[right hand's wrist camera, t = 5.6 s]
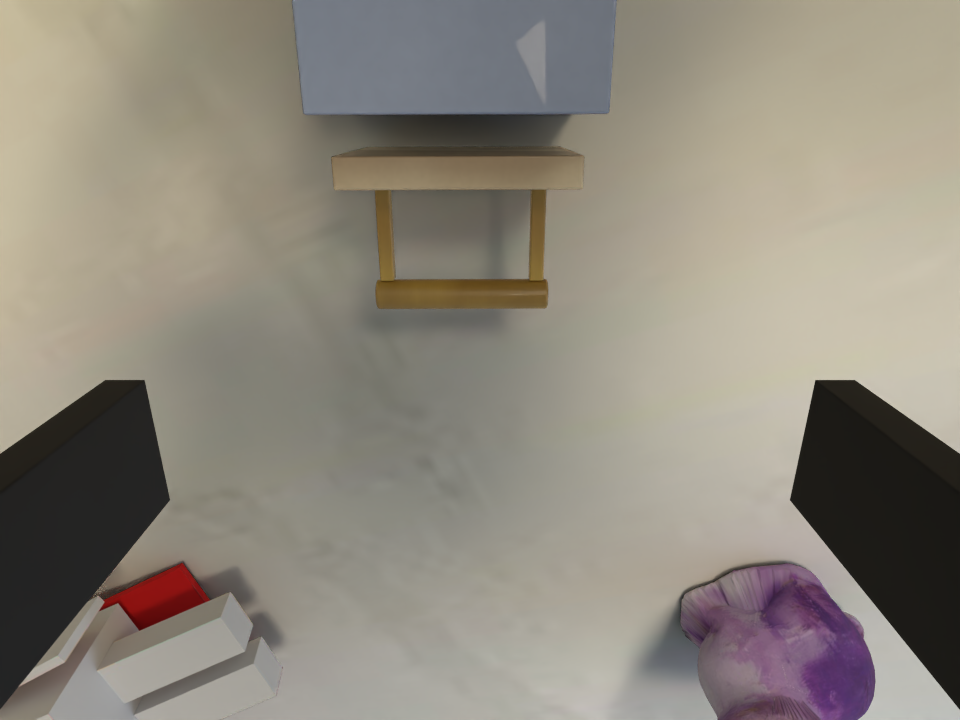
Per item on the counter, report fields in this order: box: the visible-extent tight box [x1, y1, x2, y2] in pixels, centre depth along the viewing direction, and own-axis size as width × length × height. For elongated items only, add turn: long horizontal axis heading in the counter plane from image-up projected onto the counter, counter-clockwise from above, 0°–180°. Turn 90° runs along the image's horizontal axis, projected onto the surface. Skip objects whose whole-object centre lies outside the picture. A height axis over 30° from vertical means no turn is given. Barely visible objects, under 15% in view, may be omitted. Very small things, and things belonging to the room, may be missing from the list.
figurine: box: [680, 563, 875, 720], centre depth 34 cm, size 9×10×15 cm
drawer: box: [331, 146, 584, 309], centre depth 24 cm, size 22×9×7 cm, turn 0°
